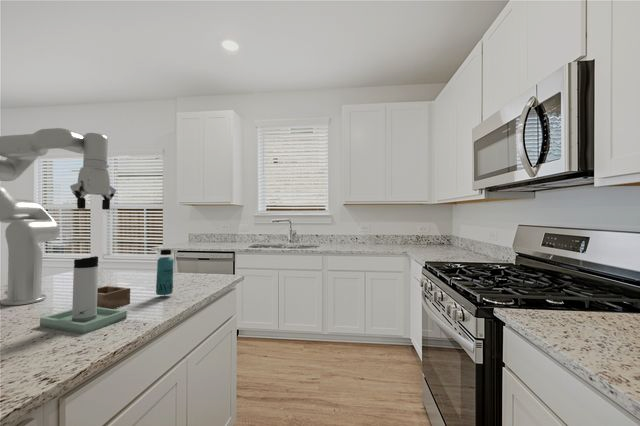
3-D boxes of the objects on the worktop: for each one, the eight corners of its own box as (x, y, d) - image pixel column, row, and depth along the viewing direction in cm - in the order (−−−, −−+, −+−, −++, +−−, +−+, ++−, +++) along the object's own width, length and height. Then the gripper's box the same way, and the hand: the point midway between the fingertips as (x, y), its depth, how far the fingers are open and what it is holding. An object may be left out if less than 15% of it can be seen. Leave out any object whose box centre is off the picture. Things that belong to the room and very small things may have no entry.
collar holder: (80, 308, 112) (80, 291, 112) (107, 300, 122) (107, 285, 122) (104, 311, 109) (104, 294, 109) (129, 303, 119) (130, 288, 119)
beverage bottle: (152, 297, 128) (153, 249, 128) (165, 294, 134) (166, 248, 134) (163, 299, 125) (164, 250, 125) (176, 295, 131) (177, 249, 132)
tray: (39, 326, 94) (40, 317, 94) (86, 312, 107) (86, 305, 107) (83, 333, 89) (83, 325, 89) (126, 318, 102) (126, 311, 102)
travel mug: (84, 323, 94) (86, 258, 95) (66, 321, 96) (68, 256, 96) (102, 316, 100) (104, 255, 101) (85, 315, 102) (87, 254, 102)
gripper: (108, 169, 130) (107, 209, 130) (64, 162, 113) (63, 208, 113) (122, 168, 128) (121, 209, 127) (79, 161, 111) (78, 208, 111)
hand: (94, 209), depth 120 cm, fingers open, 9 cm apart
